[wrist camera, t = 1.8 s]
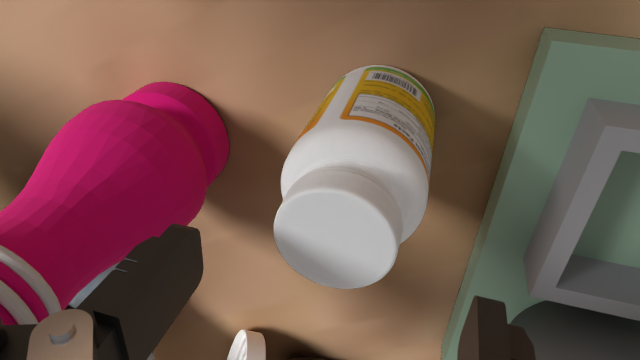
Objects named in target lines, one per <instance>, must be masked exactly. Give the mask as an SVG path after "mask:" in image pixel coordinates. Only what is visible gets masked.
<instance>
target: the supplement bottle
mask: <svg viewBox="0 0 640 360" xmlns="http://www.w3.org/2000/svg"><path fill="white" fill-rule="evenodd" d="M434 134H435V111H434V106H433V103H432V100H431V98H430V96H429V94H428V92H427V91H426V89H425V88H424V87H423V86H422V84H421V83H420V82H419V81H418V80H416V79H415V78H414V77H413V76H411V75H410V74H408V73H407V72H405V71H403V70H400V69H398V68H395V67H391V66H386V65H369V66H364V67H360V68H357V69H355V70H353V71H351V72H349V73H347V74H346V75H344V76H343V77H342V78H340V79H339V80H338V81H337V82H336V83H335V85H334V86H333V87H332V88H331V90H330V91H329V93H328V94H327V96H326V97H325V99H324V100H323V102H322V103H321V105H320V107H319V108H318V110H317V111H316V113H315V114H314V116H313V117H312V119H311V120H310V122H309V123H308V125H307V126H306V128H305V129H304V131H303V132H302V134H301V135H300V137H299V138H298V139H297V141H296V142H295V144H294V145H293V147H292V149H291V151H290V153H289V155H288V156H287V158H286V160H285V163H284V166H283V170H282V175H281V192H282V197H283V202H282V204H281V206H280V207H279V209H278V211H277V214H276V217H275V220H274V239H275V242H276V245H277V247H278V250H279V252H280V254H281V255H282V257H283V258H284V259H285V261H286V262H287V263H288V264H289V265H290V266H291V267H292V268H293V269H294V270H295V271H297V272H298V273H299V274H301V275H302V276H304V277H305V278H307V279H309V280H311V281H313V282H315V283H318V284H320V285H324V286H327V287H332V288H338V289H355V288H361V287H365V286H368V285H371V284H373V283H375V282H377V281H379V280H380V279H382V278H383V277H384V276H385V275H386V274H387V273H388V272H389V271H390V269H391V268H392V267H393V265H394V263H395V260H396V258H397V254H398V250H399V245H400V244H401V243H402V242H404V241H405V240H406V239H408V238H409V237H410V236H411V235H412V234H413V233H414V231H415V230H416V229H417V227H418V226H419V224H420V223H421V221H422V218H423V216H424V213H425V210H426V206H427V200H428V193H429V181H430V171H431V162H432V153H433V143H434Z"/></svg>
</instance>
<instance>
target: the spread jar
mask: <svg viewBox="0 0 640 360" xmlns="http://www.w3.org/2000/svg"><path fill="white" fill-rule="evenodd" d="M227 360H266V345H265V339H264V336H263V335H262V333H259V332H254V331H249V330H244V329H242V330H240V331H239V332H238V334H237V335H236V337H235V339H234V341H233V343H232V346H231V349H230V351H229V354H228V357H227ZM289 360H329V359H324V358H318V357H305V358H294V359H289Z"/></svg>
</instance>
